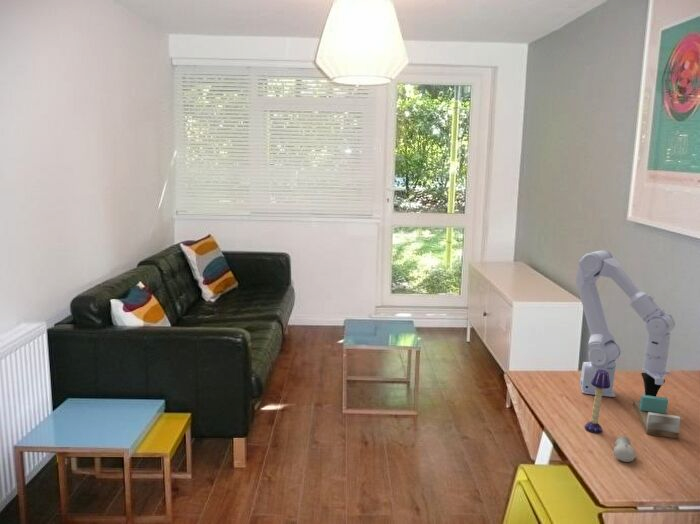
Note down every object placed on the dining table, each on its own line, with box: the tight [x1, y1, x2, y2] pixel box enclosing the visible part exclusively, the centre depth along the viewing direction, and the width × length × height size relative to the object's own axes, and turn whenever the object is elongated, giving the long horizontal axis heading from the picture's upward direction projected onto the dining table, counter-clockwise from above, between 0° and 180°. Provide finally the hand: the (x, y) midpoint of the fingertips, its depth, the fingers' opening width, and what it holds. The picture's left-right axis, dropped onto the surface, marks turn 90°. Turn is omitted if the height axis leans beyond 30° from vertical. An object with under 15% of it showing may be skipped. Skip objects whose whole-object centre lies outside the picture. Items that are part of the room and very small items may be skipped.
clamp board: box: [632, 399, 682, 439], centre depth 162 cm, size 8×19×6 cm, turn 165°
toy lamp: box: [584, 369, 610, 434], centre depth 155 cm, size 5×5×17 cm
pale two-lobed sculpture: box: [613, 435, 637, 463], centre depth 143 cm, size 4×8×5 cm
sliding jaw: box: [639, 394, 669, 414], centre depth 164 cm, size 6×2×4 cm, turn 75°
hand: (649, 398), depth 171 cm, fingers closed
